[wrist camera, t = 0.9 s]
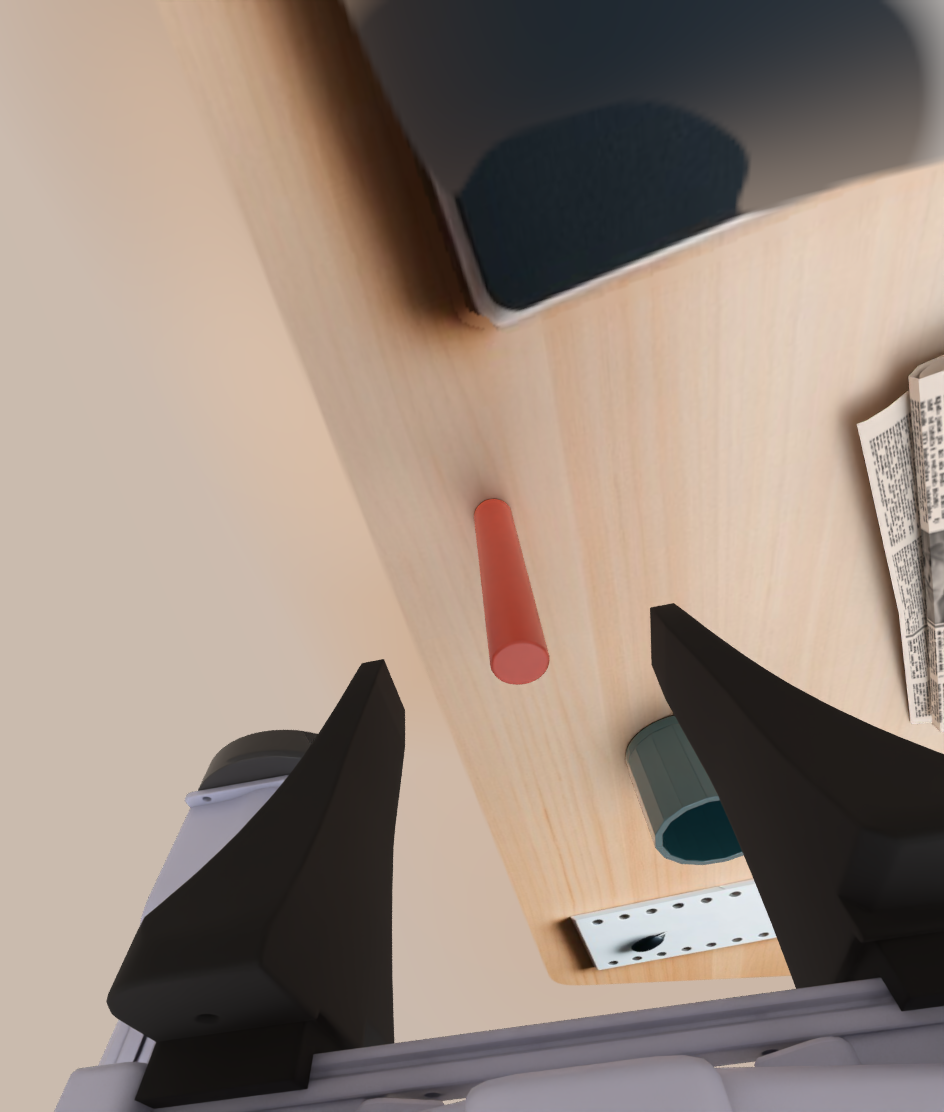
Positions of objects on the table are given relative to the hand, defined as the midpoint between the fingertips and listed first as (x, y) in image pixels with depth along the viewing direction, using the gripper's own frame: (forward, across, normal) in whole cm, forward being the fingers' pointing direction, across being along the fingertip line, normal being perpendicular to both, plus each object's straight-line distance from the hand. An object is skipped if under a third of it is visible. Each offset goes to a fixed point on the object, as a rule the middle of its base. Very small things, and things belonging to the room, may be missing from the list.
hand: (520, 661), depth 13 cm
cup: (+9, -8, +18) cm, 22 cm away
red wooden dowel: (+9, 0, 0) cm, 9 cm away
